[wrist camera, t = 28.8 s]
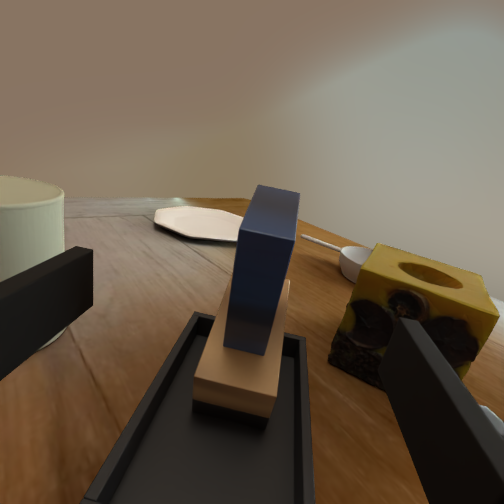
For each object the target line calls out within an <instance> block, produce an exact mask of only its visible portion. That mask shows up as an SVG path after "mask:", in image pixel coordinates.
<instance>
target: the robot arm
mask: <svg viewBox="0 0 504 504" xmlns="http://www.w3.org/2000/svg"><path fill="white" fill-rule="evenodd" d="M91 306H93V250H92V249H87V248H83V247H78V246H75V247H73V248H71V249H69V250H67V251H65V252H63V253H61V254H58V255H56V256H54V257H52V258H50V259H48V260H46V261H44V262H42V263H40V264H37V265H35V266H33V267H31V268H29V269H27V270H25V271H23V272H21V273H18V274H16V275H14V276H12V277H10V278H8V279H6V280H4V281H2V282H0V381H1V380H2V379H3V378H4V377H6V376H7V375H8V374H9V373H11V372H12V371H13V370H14V369H15V368H17V367H18V366H19V365H20V364H22V363H23V362H24V361H25V360H26V359H28V358H29V357H30V356H31V355H33V354H34V353H35V352H36V351H38V350H39V349H40V348H41V347H42V346H44V345H45V344H46V343H47V342H49V341H50V340H51V339H52V338H53V337H55V336H56V335H57V334H58V333H60V332H61V331H62V330H63V329H65V328H66V327H67V326H68V325H69V324H71V323H72V322H73V321H74V320H76V319H77V318H78V317H79V316H80V315H82V314H83V313H84V312H85V311H87V310H88V309H89V308H90V307H91ZM378 373H379V375H380V378H381V380H382V383H383V386H384V388H385V391H386V393H387V396H388V399H389V401H390V404H391V406H392V409H393V411H394V414H395V417H396V419H397V422H398V424H399V427H400V430H401V432H402V435H403V437H404V440H405V442H406V445H407V448H408V450H409V453H410V455H411V458H412V461H413V463H414V466H415V468H416V471H417V473H418V476H419V479H420V481H421V484H422V486H423V489H424V492H425V494H426V497H427V499H428V502H429V504H504V422H503V421H502V420H501V419H500V418H499V417H498V416H496V415H495V414H494V413H493V412H492V411H491V410H490V409H489V408H487V407H486V406H482V405H479V404H478V403H477V402H476V400H475V399H474V398H473V396H472V395H471V393H470V392H469V391H468V389H467V388H466V387H465V385H464V384H463V382H462V381H461V380H460V378H459V377H458V375H457V374H456V373H455V371H454V370H453V369H452V367H451V366H450V364H449V363H448V362H447V360H446V359H445V358H444V356H443V355H442V353H441V352H440V351H439V349H438V348H437V346H436V345H435V344H434V342H433V341H432V340H431V338H430V337H429V335H428V334H427V333H426V331H425V330H424V329H423V327H422V326H421V324H420V323H419V322H418V321H415V320H411V319H406V318H402V317H399V319H398V321H397V324H396V326H395V329H394V331H393V334H392V336H391V339H390V341H389V343H388V346H387V348H386V351H385V353H384V356H383V358H382V361H381V363H380V365H379V368H378Z"/></svg>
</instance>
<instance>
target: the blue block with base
mask: <svg viewBox="0 0 504 504" xmlns="http://www.w3.org/2000/svg"><path fill="white" fill-rule="evenodd" d="M299 200H300V193H297V192H292V191H287V190H282V189H277V188H272V187H267V186H262V185H258V186H257V188H256V190H255V193H254V195H253V197H252V200H251V202H250V204H249V207H248V209H247V211H246V213H245V216H244V218H243V220H242V223H241V225H240V227H239V231H238V238H237V246H236V253H235V260H234V267H233V273H232V275H231V278H230V281H229V283H228V286H227V289H226V291H225V294H224V297H223V299H222V302H221V305H220V307H219V310H218V313H217V315H216V318H215V321H214V323H213V326H212V329H211V331H210V334H209V337H208V339H207V342H206V345H205V347H204V350H203V353H202V355H201V358H200V361H199V363H198V366H197V369H196V371H195V374H194V381H193V399H192V412H196V413H200V414H204V415H208V416H212V417H216V418H220V419H224V420H227V421H231V422H235V423H239V424H243V425H247V426H251V427H255V428H259V429H263V430H265V429H266V427H267V424H268V421H269V418H270V415H271V412H272V409H273V406H274V404H275V401H276V398H277V391H278V382H279V373H280V364H281V355H282V347H283V338H284V329H285V320H286V311H287V302H288V293H289V284H290V280H288V279H285V277H286V273H287V270H288V266H289V262H290V259H291V255H292V251H293V247H294V244H295V238H296V228H297V219H298V210H299Z"/></svg>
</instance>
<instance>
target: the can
mask: <svg viewBox="0 0 504 504" xmlns="http://www.w3.org/2000/svg"><path fill="white" fill-rule="evenodd" d="M63 252H64V191H63V190H62V189H61V188H59V187H57V186H55V185H52V184H49V183H46V182H42V181H37V180H32V179H26V178H20V177H12V176H3V175H0V282H2V281H4V280H6V279H8V278H10V277H12V276H14V275H16V274H18V273H21V272H23V271H25V270H27V269H29V268H31V267H33V266H35V265H37V264H40V263H42V262H44V261H46V260H48V259H50V258H52V257H54V256H56V255H58V254H61V253H63ZM65 329H66V328H65ZM65 329H63V330H62V331H61V332H60V333H58V334H57V335H56V336H55V337H53V338H52V339H51V340H50V341H49V342H47V343H46V344H45V345H44V346H42V347H41V348H40V349H42V348H44V347H45V346H47V345H49V344H50V343H52V342H53V341H54V340H56V339H57V338H58V337H59V336H60V335H61V334H62V333H63V332H64V330H65ZM40 349H39V350H40Z"/></svg>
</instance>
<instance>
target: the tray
mask: <svg viewBox="0 0 504 504" xmlns="http://www.w3.org/2000/svg"><path fill="white" fill-rule="evenodd" d="M215 318H216V316H212V315H208V314H203V313H199V312H194V313H193V315H192V317H191V318H190V320H189V322H188V323H187V325H186V327H185V328H184V330H183V332H182V333H181V335H180V337H179V338H178V340H177V342H176V343H175V345H174V347H173V348H172V350H171V352H170V354H169V355H168V357H167V359H166V360H165V362H164V364H163V365H162V367H161V369H160V370H159V372H158V374H157V375H156V377H155V379H154V380H153V382H152V384H151V385H150V387H149V389H148V390H147V392H146V394H145V395H144V397H143V399H142V400H141V402H140V404H139V405H138V407H137V409H136V410H135V412H134V414H133V415H132V417H131V419H130V420H129V422H128V424H127V425H126V427H125V429H124V430H123V432H122V434H121V435H120V437H119V439H118V440H117V442H116V444H115V445H114V447H113V449H112V450H111V452H110V454H109V455H108V457H107V459H106V460H105V462H104V464H103V465H102V467H101V469H100V470H99V472H98V474H97V475H96V477H95V479H94V480H93V482H92V484H91V485H90V487H89V489H88V490H87V492H86V494H85V495H84V499H82V500H81V502H80V504H315V487H314V470H313V453H312V436H311V419H310V402H309V385H308V369H307V352H306V338H305V337H302V336H298V335H293V334H289V333H285V332H284V338H283V347H282V355H281V364H280V373H279V382H278V391H277V398H276V401H275V404H274V406H273V409H272V412H271V415H270V418H269V421H268V424H267V427H266V429H265V430H263V429H259V428H255V427H251V426H247V425H243V424H239V423H235V422H231V421H227V420H224V419H220V418H216V417H212V416H208V415H204V414H200V413H196V412H192V399H193V381H194V374H195V371H196V369H197V366H198V363H199V361H200V358H201V355H202V353H203V350H204V347H205V345H206V342H207V339H208V337H209V334H210V331H211V329H212V326H213V323H214V321H215Z"/></svg>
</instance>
